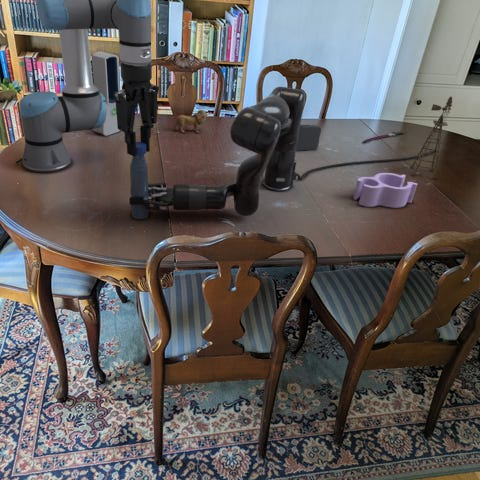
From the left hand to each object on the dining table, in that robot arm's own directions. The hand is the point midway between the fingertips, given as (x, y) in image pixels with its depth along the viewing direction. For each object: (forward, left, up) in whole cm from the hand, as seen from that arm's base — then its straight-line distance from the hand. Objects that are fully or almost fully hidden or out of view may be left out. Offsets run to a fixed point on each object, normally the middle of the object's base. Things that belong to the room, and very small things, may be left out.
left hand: (138, 152), depth 126 cm
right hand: (-3, -1, -14) cm, 14 cm away
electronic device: (-32, +62, -20) cm, 72 cm away
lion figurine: (-1, +74, -20) cm, 76 cm away
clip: (+75, +33, -20) cm, 84 cm away
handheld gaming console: (+42, +68, -20) cm, 82 cm away
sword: (+85, +98, -20) cm, 131 cm away
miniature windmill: (+95, +62, -20) cm, 115 cm away
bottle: (0, 0, -20) cm, 20 cm away
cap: (0, 0, +2) cm, 2 cm away
